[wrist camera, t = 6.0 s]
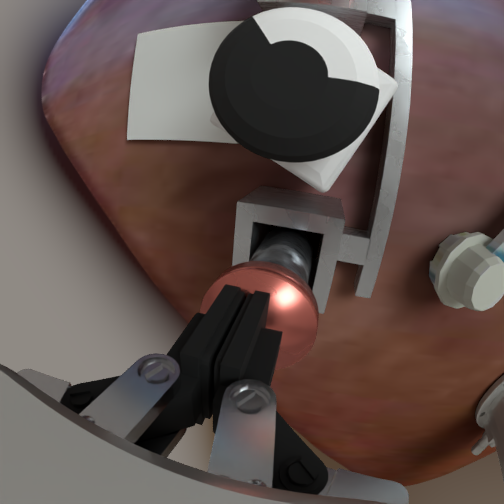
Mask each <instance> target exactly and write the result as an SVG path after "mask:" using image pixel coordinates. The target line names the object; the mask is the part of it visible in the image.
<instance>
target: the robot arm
mask: <svg viewBox="0 0 504 504" xmlns="http://www.w3.org/2000/svg"><path fill="white" fill-rule="evenodd" d="M269 301H270V293H267V292H262V291H257V290H255V292H254V294H252V293H249V294H248V296H247V298H246V300H245V292H242V291H241V288H240V287H237V286H232V285H228V284H225V286H224V287H223V289H222V290H221V292H220V293H219V295H218V296H217V298H216V299H215V301H214V302H213V304H212V305H211V307H210V308H209V310H208V311H207V313H206V314H202V313H196V314H195V316H194V317H193V318H192V320H191V321H190V323H189V324H188V325H187V327H186V328H185V330H184V331H183V333H182V334H181V335H180V337H179V338H178V339H177V341H176V342H175V344H174V345H173V346H172V348H171V349H170V351H169V352H168V353H167V355H164V354H149V355H146V356H144V357H142V358H140V359H139V360H138V361H136V362H135V363H134V364H133V365H132V366H131V367H130V368H129V369H128V370H126V372H124V373H123V374H122V375H121V376H116V377H112V378H107V379H102V380H97V381H91V382H86V383H80V384H77V385H73V386H71V384H70V382H67V381H64V380H60V379H57V378H54V377H51V376H49V375H45V374H43V373H40V372H37V371H34V370H32V369H24V370H21V371H19V372H18V373H16V372H14V371H13V370H11V369H9V368H8V367H6V366H3V365H1V364H0V504H408V502H409V494H408V492H407V490H406V488H405V487H404V486H402V485H401V484H399V483H397V482H393V481H388V480H384V479H379V478H375V477H370V476H366V475H362V474H358V473H354V472H351V471H347V470H343V469H340V468H339V469H338V470H333V469H330V468H327V467H326V466H325V465H324V463H323V462H322V461H321V460H320V459H319V458H318V457H317V456H316V455H315V454H314V453H313V451H312V450H311V449H310V448H309V447H308V446H307V445H306V444H305V443H304V442H303V441H302V440H301V438H299V436H298V435H297V434H296V433H295V432H294V431H293V430H292V428H291V427H290V426H289V425H288V424H287V423H286V422H285V420H284V419H283V418H282V417H281V416H280V415H279V413H278V412H277V411H276V395H275V393H274V391H273V390H272V388H270V385H271V381H272V377H273V374H274V370H275V366H276V362H277V358H278V353H279V349H280V344H281V339H282V334H283V331H278V330H273V329H268V328H265V327H266V321H267V314H268V307H269ZM212 414H213V432H214V433H215V438H214V443H213V447H212V452H211V457H210V462H209V466H208V471H207V472H205V471H202V470H199V469H196V468H193V467H190V466H187V465H184V464H182V463H179V462H176V461H173V460H171V459H168V458H167V457H168V455H169V454H170V453H171V451H172V450H173V449H174V447H175V446H176V445H177V444H178V442H179V441H180V440H181V438H182V437H183V435H184V434H185V432H186V430H187V428H188V427H191V426H194V425H195V423H197V424H200V425H202V424H203V421H204V419H205V418H208V419H210V418H211V416H212ZM475 418H476V421H477V424H478V425H479V426H480V427H482V428H485V432H484V433H483V437H482V438H481V439H479V440H478V441H477V442H476V443H475V444H474V445H473V446H472V448H471V451H472V453H473V454H474V455H479V454H480V453H481V452H482V451H483V450H484V449H485V448H486V447H487V446H488V445H490V446H491V447H494V446H496V450H497V453H498V458H499V462H500V466H501V471H502V475H503V481H504V375H503V376H502V377H500V378H499V379H498V380H497V381H496V382H495V383H494V384H493V385H492V386H491V387H490V388H489V389H488V391H487V392H486V393H485V394H484V396H483V397H482V399H481V400H480V402H479V404H478V406H477V408H476V412H475Z"/></svg>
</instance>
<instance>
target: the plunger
mask: <svg viewBox="0 0 504 504" xmlns="http://www.w3.org/2000/svg"><path fill="white" fill-rule="evenodd" d="M312 255H313V249H312V245H311V242H310V240H309V238H308V237H307V236H306V235H305V234H304V233H303V232H302V231H300V230H298V229H293V228H288V227H278V228H276V229H274V230H272V231H271V232H269V233H268V234H267V235H266V237H265V238H264V240H263V241H262V243H261V244H260V246H259V247H258V249H257V250H256V252H255V253H254V255H253V257H252V258H251V260H250V261H249V262H243V263H240V264H237V265H234V266H232V267H230V268H229V269H227V270H226V271H224V272H223V273H222V274H221V275H220V276H219V277H218V278H217V279H216V281H215V282H214V283H213V284H212V286H211V287H210V288H209V289H208V291H207V292H206V294H205V296H204V298H203V300H202V304H201V311H200V313H202V314H206V313H207V311H208V310H209V308H210V307H211V305H212V304H213V302H214V301H215V299H216V298H217V296H218V295H219V293H220V292H221V290H222V289H223V287H224V286H225V284H228V285H232V286H237V287H240V288H241V291H242V292H245V300H246V298H247V296H248V294H249V293H252V294H254V292H255V290H257V291H262V292H267V293H270V301H269V307H268V314H267V321H266V327H265V328H268V329H273V330H278V331H283V334H282V339H281V344H280V349H279V353H278V358H277V362H276V366H275V369H281V368H285V367H288V366H291V365H293V364H295V363H297V362H298V361H300V360H301V359H303V358H304V357H305V356H306V355H307V354H308V352H309V351H310V350H311V348H312V346H313V345H314V342H315V339H316V335H317V327H318V318H319V311H318V304H317V301H316V298H315V296H314V294H313V292H312V290H311V289H310V287H309V286H308V285H307V284H308V279H309V273H310V267H311V261H312Z"/></svg>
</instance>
